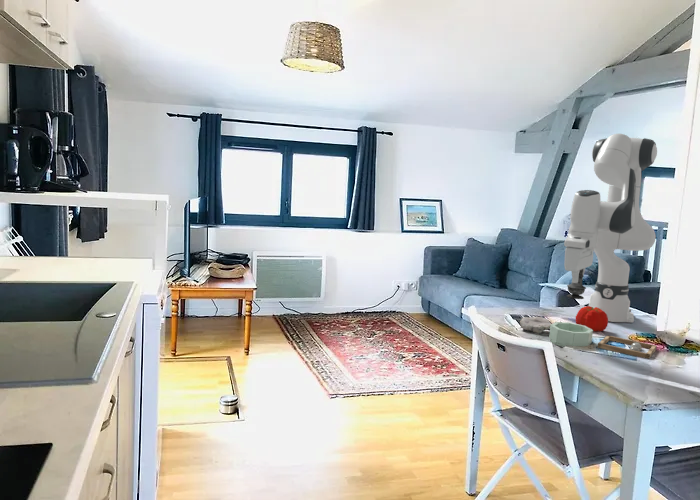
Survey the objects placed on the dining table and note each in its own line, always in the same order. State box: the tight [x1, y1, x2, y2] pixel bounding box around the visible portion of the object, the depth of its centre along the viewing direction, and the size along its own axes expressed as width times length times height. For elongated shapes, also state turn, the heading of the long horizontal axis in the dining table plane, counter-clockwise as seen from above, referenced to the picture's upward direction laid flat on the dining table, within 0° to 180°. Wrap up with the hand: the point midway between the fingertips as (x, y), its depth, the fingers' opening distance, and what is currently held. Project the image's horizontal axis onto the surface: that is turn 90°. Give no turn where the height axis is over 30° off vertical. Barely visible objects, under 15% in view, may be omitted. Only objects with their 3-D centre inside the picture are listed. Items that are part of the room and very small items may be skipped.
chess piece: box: [566, 269, 587, 300], centre depth 185 cm, size 6×6×12 cm
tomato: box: [575, 305, 609, 332], centre depth 204 cm, size 11×11×9 cm
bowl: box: [548, 321, 594, 348], centre depth 188 cm, size 12×12×6 cm
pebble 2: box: [629, 346, 641, 352], centre depth 177 cm, size 3×3×3 cm
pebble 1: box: [630, 343, 643, 351], centre depth 182 cm, size 3×3×3 cm
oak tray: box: [597, 334, 657, 360], centre depth 182 cm, size 13×15×2 cm
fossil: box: [519, 316, 552, 334], centre depth 201 cm, size 9×6×10 cm
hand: (577, 281), depth 185 cm, fingers closed on chess piece, 3 cm apart
